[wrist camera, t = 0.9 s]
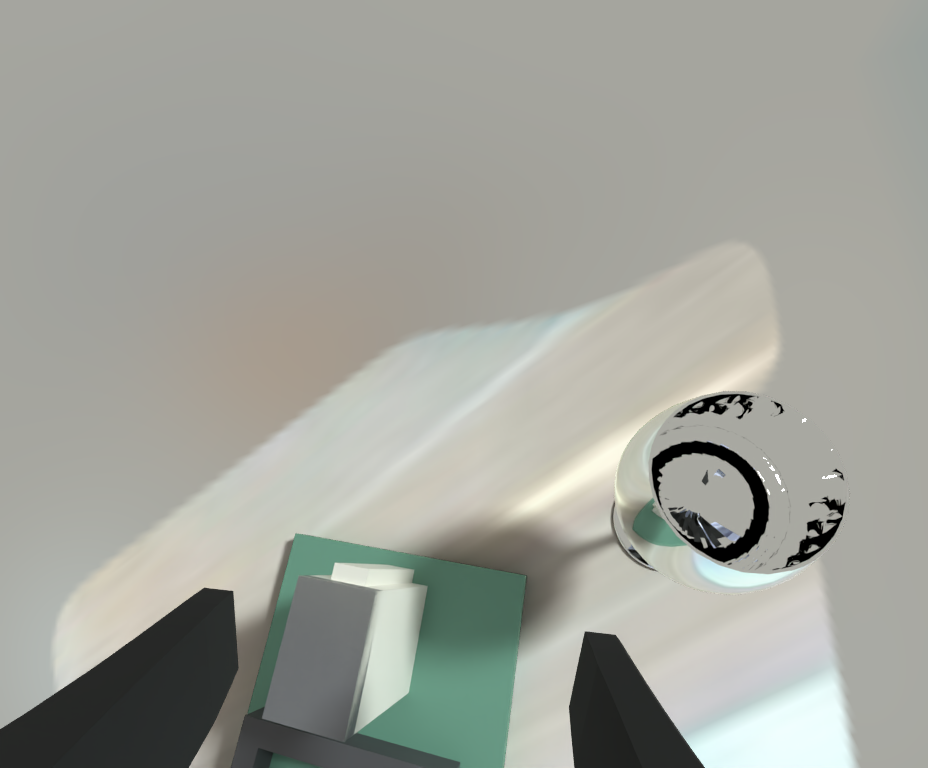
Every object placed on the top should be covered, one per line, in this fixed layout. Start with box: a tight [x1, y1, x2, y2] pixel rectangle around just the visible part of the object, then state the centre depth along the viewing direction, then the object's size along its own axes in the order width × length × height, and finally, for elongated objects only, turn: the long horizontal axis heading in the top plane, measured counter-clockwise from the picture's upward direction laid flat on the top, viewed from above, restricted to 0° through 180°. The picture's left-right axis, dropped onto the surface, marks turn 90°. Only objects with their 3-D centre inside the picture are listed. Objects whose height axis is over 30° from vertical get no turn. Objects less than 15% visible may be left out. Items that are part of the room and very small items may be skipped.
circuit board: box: [231, 534, 527, 768], centre depth 22 cm, size 15×12×2 cm
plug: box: [262, 563, 428, 742], centre depth 20 cm, size 5×3×7 cm, turn 170°
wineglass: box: [613, 391, 850, 595], centre depth 18 cm, size 6×6×12 cm
